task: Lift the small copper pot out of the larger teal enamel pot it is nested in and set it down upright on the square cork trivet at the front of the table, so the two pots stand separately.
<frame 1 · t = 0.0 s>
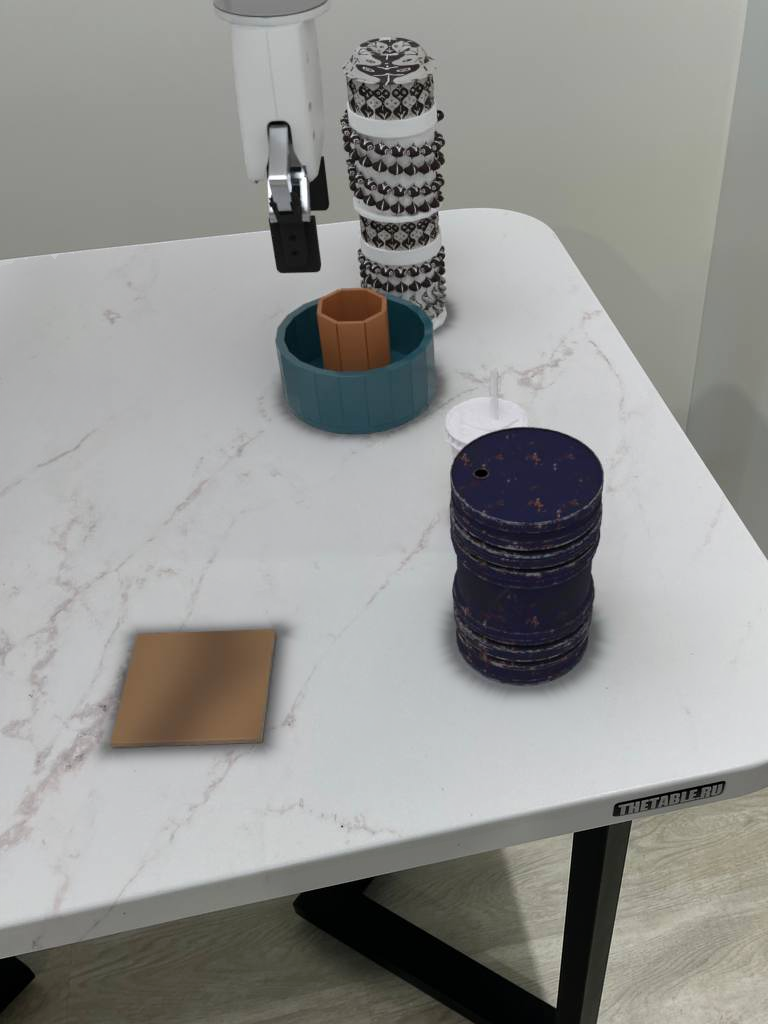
hand: (304, 238, 80), 18 cm above the table, tool pointing down, fingers open, 9 cm apart
decorative candle: (405, 316, 107), on the table
small pot: (360, 383, 97), point 1 cm above the table, touching big pot
smoothie: (487, 520, 85), on the table
trivet: (197, 688, 73), on the table
big pot: (360, 389, 98), on the table
navy ridged cylinder: (521, 637, 77), on the table
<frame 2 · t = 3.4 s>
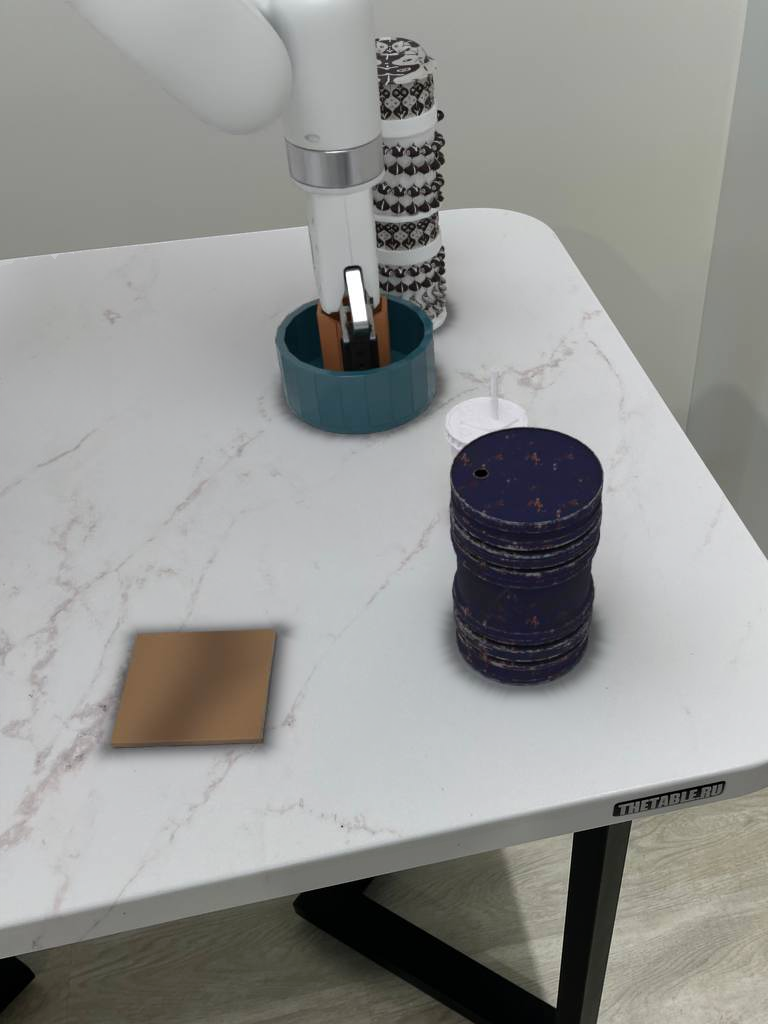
hand: (357, 354, 95), 4 cm above the table, tool pointing down, fingers closed on small pot, 6 cm apart
small pot: (360, 383, 97), point 1 cm above the table, touching big pot, gripper
everything else where it was.
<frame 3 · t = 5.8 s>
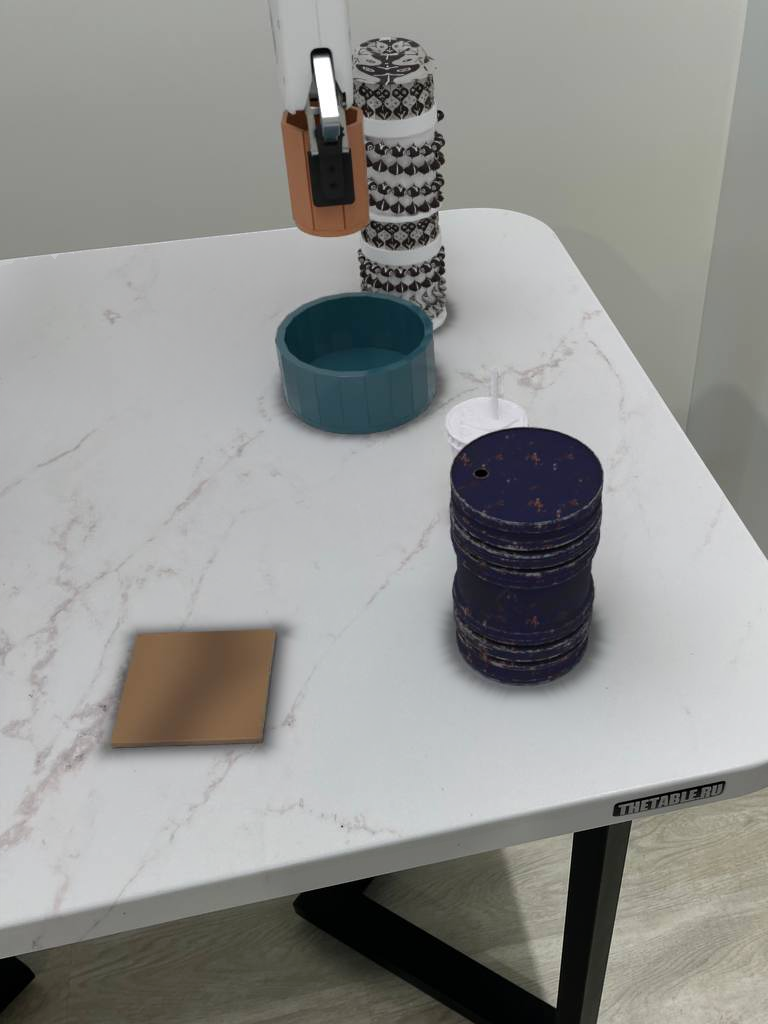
hand: (328, 182, 82), 20 cm above the table, tool pointing down, fingers closed on small pot, 6 cm apart
small pot: (332, 220, 84), point 17 cm above the table, touching gripper
everything else where it was.
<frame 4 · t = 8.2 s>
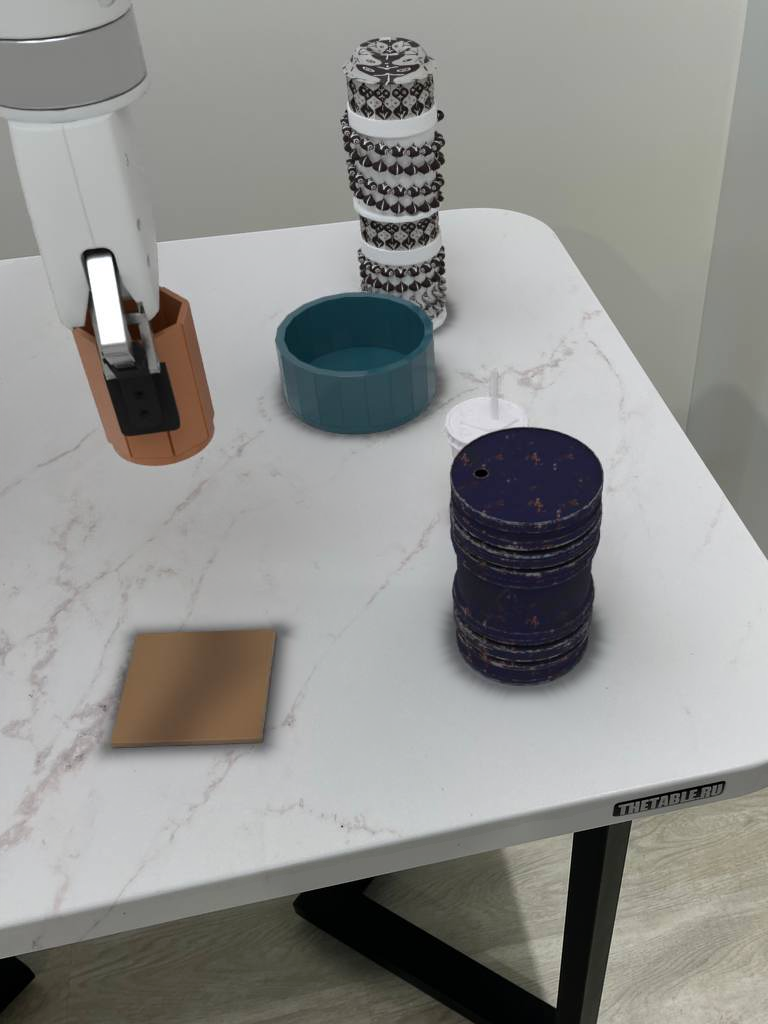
hand: (150, 392, 60), 21 cm above the table, tool pointing down, fingers closed on small pot, 6 cm apart
small pot: (164, 435, 63), point 18 cm above the table, touching gripper
everything else where it was.
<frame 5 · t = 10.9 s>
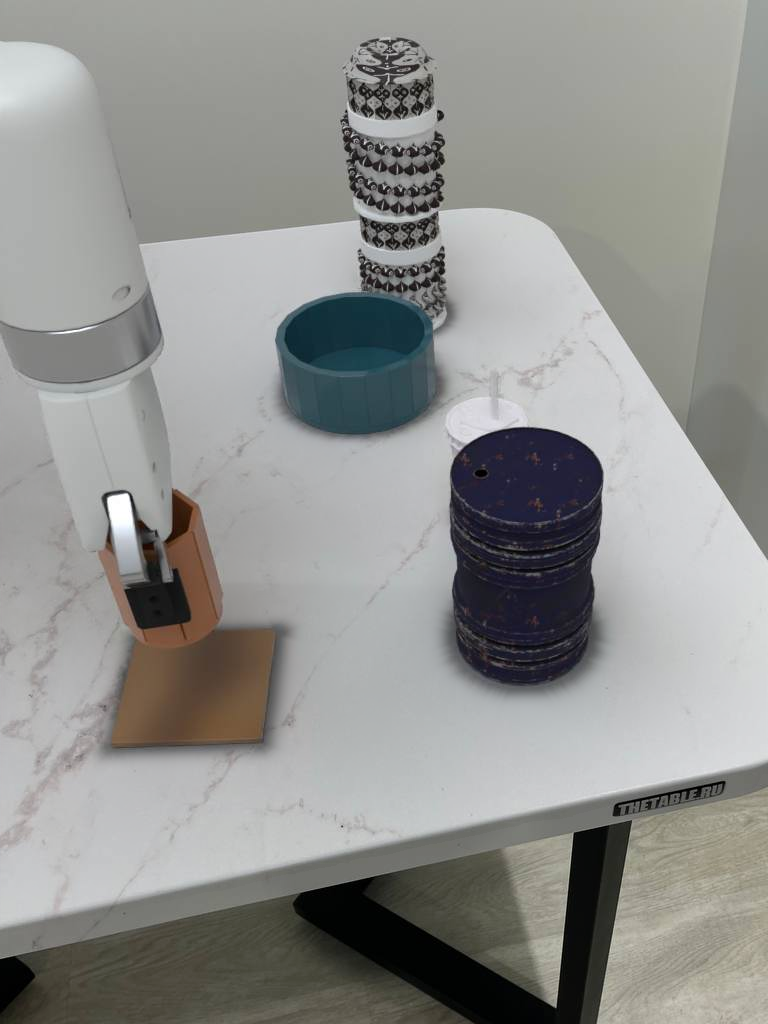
hand: (164, 581, 66), 10 cm above the table, tool pointing down, fingers closed on small pot, 6 cm apart
small pot: (176, 614, 68), point 7 cm above the table, touching gripper
everything else where it was.
when the fingers open (4 cm above the table, at t = 13.0 s): small pot stays where it is, resting on trivet.
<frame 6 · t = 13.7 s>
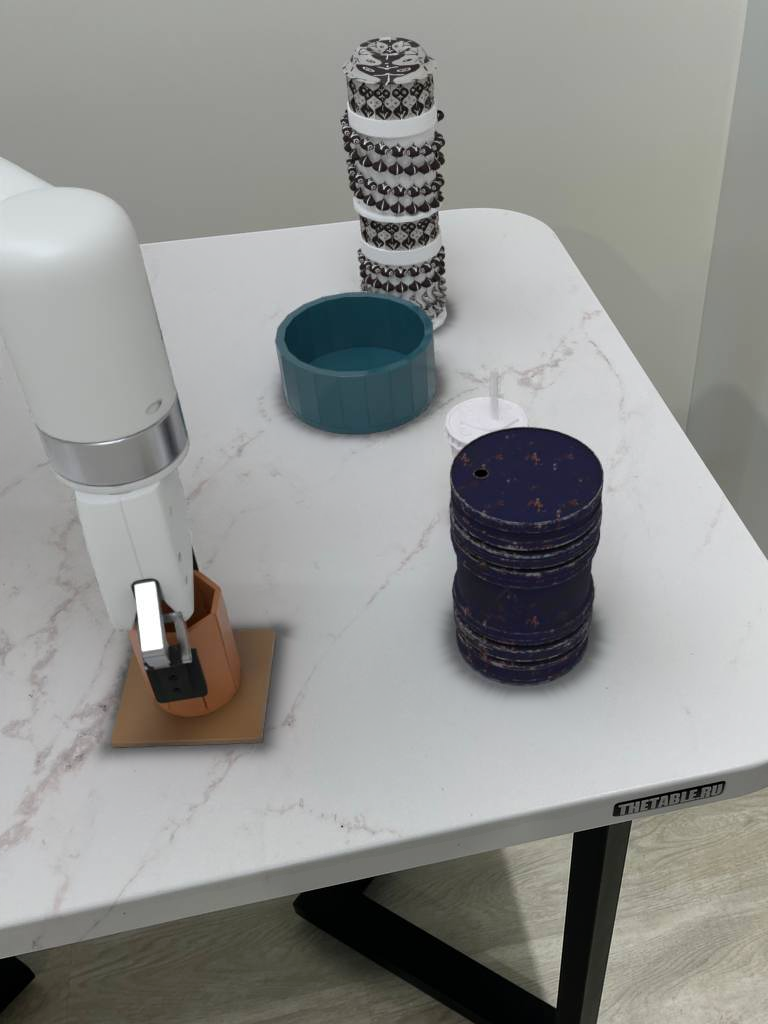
hand: (181, 641, 70), 5 cm above the table, tool pointing down, fingers open, 9 cm apart
small pot: (197, 683, 73), resting on trivet
everything else where it was.
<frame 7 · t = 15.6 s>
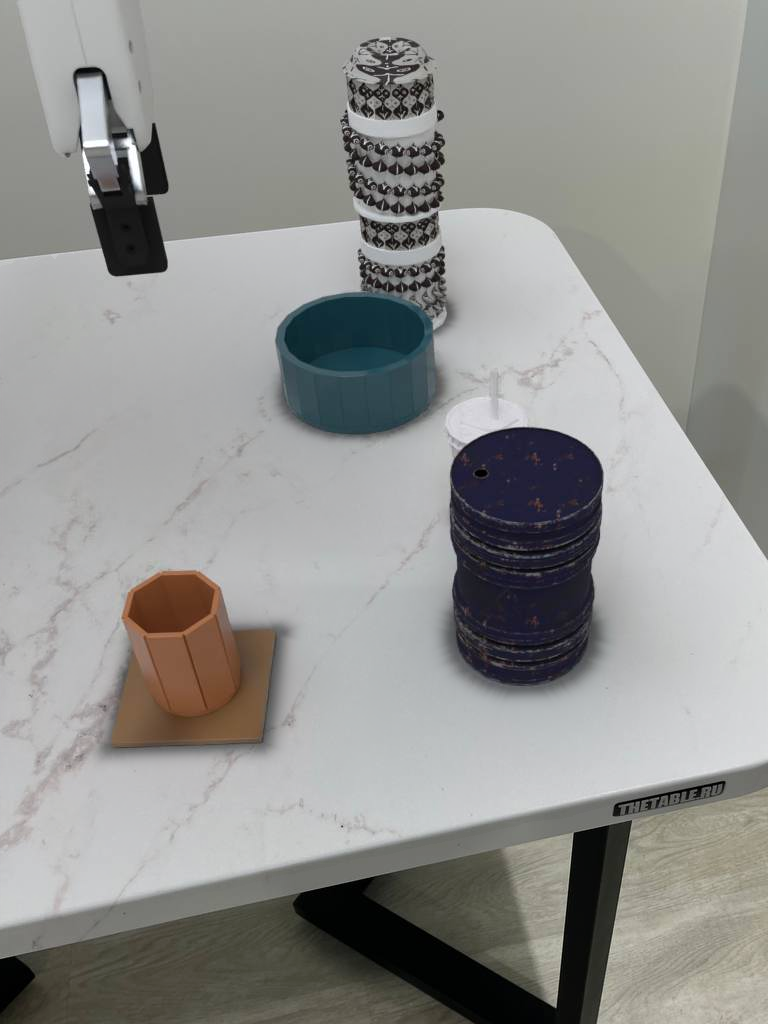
hand: (141, 230, 61), 27 cm above the table, tool pointing down, fingers open, 9 cm apart
nothing on the table moved.
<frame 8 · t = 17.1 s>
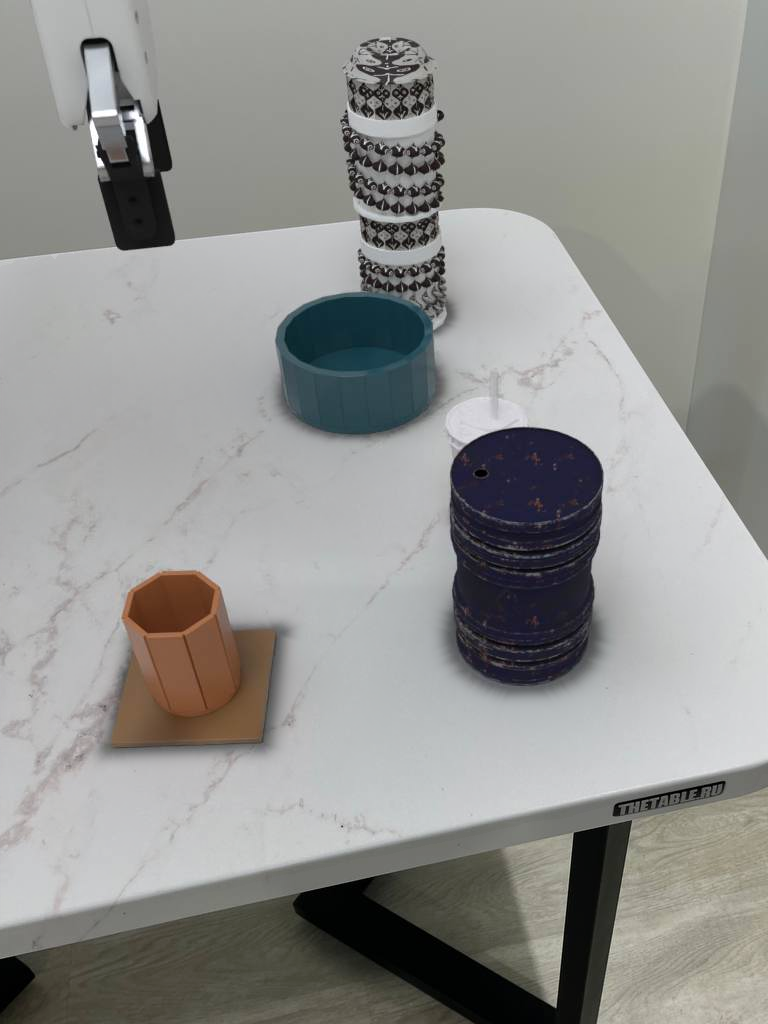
hand: (147, 206, 61), 28 cm above the table, tool pointing down, fingers open, 9 cm apart
nothing on the table moved.
at the end: small pot inside the target area on the trivet (0.1 cm from its centre), point 0.5 cm above the trivet's base; small pot tilted 0°; small pot touching trivet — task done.
